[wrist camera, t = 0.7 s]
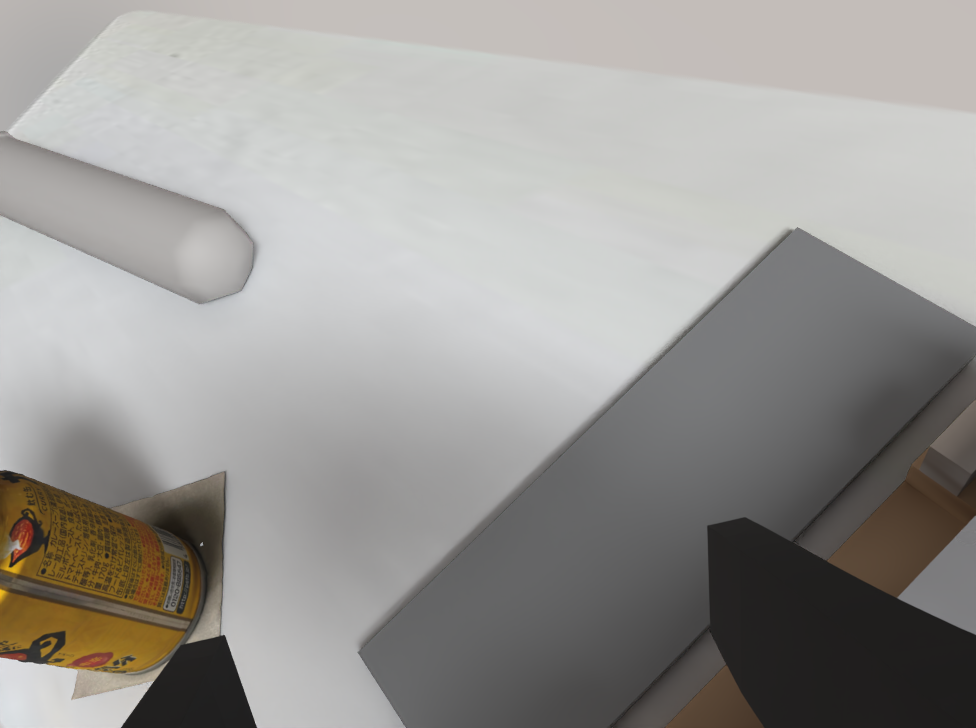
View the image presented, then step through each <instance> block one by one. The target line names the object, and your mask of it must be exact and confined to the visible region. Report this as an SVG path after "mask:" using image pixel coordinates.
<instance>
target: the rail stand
mask: <svg viewBox="0 0 976 728" xmlns="http://www.w3.org/2000/svg"><path fill="white" fill-rule="evenodd" d="M975 516H976V399H975V400H974V401H973V402H972V403H971V404H970V405H969V406H968V407H967V408H966V409H965V410H964V411H963V412H962V413H961V414H960V415H959V416H958V417H957V418H956V419H955V420H954V421H953V422H952V423H951V425H950V426H949V427H948V428H947V429H946V430H945V431H944V432H943V433H942V434H941V435H940V436H939V437H938V438H937V439H936V440H935V441H934V442H933V443H932V444H931V445H930V446H929V447H928V448H927V449H926V450H925V451H924V452H923V453H922V454H921V455H920V456H919V457H918V458H917V459H916V460H915V461H914V463H913V464H912V465H911V467H910V469H909V471H908V474H907V476H906V479H905V481H904V482H903V483H902V484H901V485H900V486H899V487H898V488H897V489H896V490H895V491H894V492H893V493H892V494H891V495H890V496H889V497H888V498H887V499H886V500H885V501H884V502H883V504H882V505H881V506H880V507H879V508H878V509H877V510H876V511H875V512H874V513H873V514H872V515H871V516H870V517H869V518H868V519H867V520H866V521H865V522H864V523H863V524H862V525H861V526H860V527H859V528H858V529H857V530H856V531H855V532H854V533H853V534H852V535H851V536H850V537H849V538H848V540H847V541H846V542H845V543H844V544H843V545H842V546H841V547H840V548H839V549H838V550H837V551H836V552H835V553H834V554H833V555H832V556H831V557H830V558H829V559H828V560H827V562H829V563H831V564H833V565H834V566H836V567H838V568H840V569H842V570H844V571H846V572H847V573H849V574H851V575H853V576H855V577H857V578H859V579H861V580H863V581H864V582H866V583H868V584H870V585H872V586H874V587H876V588H878V589H880V590H882V591H884V592H886V593H888V594H890V595H892V596H894V597H896V598H897V597H898V596H899V595H900V594H901V593H902V592H903V591H904V590H905V589H906V588H907V587H908V586H909V585H910V584H911V583H912V582H913V581H914V580H915V579H916V577H917V576H918V575H919V574H920V573H921V572H922V571H923V570H924V569H925V568H926V567H927V566H928V565H929V564H930V563H931V562H932V561H933V560H934V559H935V558H936V557H937V555H938V554H939V553H940V552H941V551H942V550H943V549H944V548H945V547H946V546H947V545H948V544H949V543H950V542H951V541H952V540H953V539H954V538H955V537H956V536H957V535H958V533H959V532H960V531H961V530H962V529H963V528H964V527H965V526H966V525H967V524H968V523H969V522H970V521H971V520H972V519H973V518H974V517H975ZM665 728H764V727H763V725H762V724H761V722H760V720H759V719H758V717H757V716H756V714H755V713H754V711H753V710H752V708H751V707H750V705H749V704H748V702H747V701H746V699H745V698H744V696H743V695H742V693H741V691H740V689H739V687H738V685H737V684H736V682H735V680H734V678H733V676H732V674H731V672H730V670H729V668H728V666H727V665H725V666H724V667H723V668H722V669H721V670H720V671H719V672H718V673H717V674H716V675H715V676H714V677H713V678H712V679H711V680H710V682H709V683H708V684H707V685H706V686H705V687H704V688H703V689H702V690H701V691H700V692H699V693H698V694H697V695H696V696H695V697H694V698H693V699H692V700H691V701H690V702H689V703H688V704H687V705H686V706H685V707H684V708H683V709H682V710H681V711H680V712H679V713H678V714H677V715H676V716H675V718H674V719H673V720H672V721H671V722H670V723H669V724H668V725H667V726H666V727H665Z"/></svg>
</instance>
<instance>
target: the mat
mask: <svg viewBox="0 0 976 728" xmlns="http://www.w3.org/2000/svg"><path fill="white" fill-rule="evenodd" d="M975 356H976V327H975V326H973V325H971V324H970V323H968V322H966V321H964V320H962V319H961V318H959V317H957V316H955V315H953V314H952V313H950V312H948V311H946V310H945V309H943V308H941V307H939V306H937V305H936V304H934V303H932V302H930V301H928V300H927V299H925V298H923V297H921V296H920V295H918V294H916V293H914V292H912V291H911V290H909V289H907V288H905V287H903V286H902V285H900V284H898V283H896V282H895V281H893V280H891V279H889V278H887V277H886V276H884V275H882V274H880V273H878V272H877V271H875V270H873V269H871V268H870V267H868V266H866V265H864V264H862V263H861V262H859V261H857V260H855V259H853V258H852V257H850V256H848V255H846V254H844V253H843V252H841V251H839V250H837V249H836V248H834V247H832V246H830V245H828V244H827V243H825V242H823V241H821V240H819V239H818V238H816V237H814V236H812V235H811V234H809V233H807V232H805V231H803V230H802V229H800V228H798V227H797V228H796V229H795V230H794V231H793V232H792V233H791V234H790V235H789V236H788V237H787V238H786V239H785V240H784V241H782V242H781V243H780V244H779V245H778V246H777V247H776V248H775V249H774V250H773V251H772V252H771V253H770V254H769V255H768V256H767V257H766V258H765V259H764V260H763V261H762V262H761V263H760V264H759V265H758V266H757V267H756V268H755V269H754V270H753V271H751V272H750V273H749V274H748V275H747V276H746V277H745V278H744V279H743V280H742V281H741V282H740V283H739V284H738V285H737V286H736V287H735V288H734V289H733V290H732V291H731V292H730V293H729V294H728V295H727V296H726V297H725V298H724V299H723V300H722V301H720V302H719V303H718V304H717V305H716V306H715V307H714V308H713V309H712V310H711V311H710V312H709V313H708V314H707V315H706V316H705V317H704V318H703V319H702V320H701V321H700V322H699V323H698V324H697V325H696V326H695V327H694V328H693V329H692V330H690V331H689V332H688V333H687V334H686V335H685V336H684V337H683V338H682V339H681V340H680V341H679V342H678V343H677V344H676V345H675V346H674V347H673V348H672V349H671V350H670V351H669V352H668V353H667V354H666V355H665V356H664V357H663V358H662V359H661V360H659V361H658V362H657V363H656V364H655V365H654V366H653V367H652V368H651V369H650V370H649V371H648V372H647V373H646V374H645V375H644V376H643V377H642V378H641V379H640V380H639V381H638V382H637V383H636V384H635V385H634V386H633V387H632V388H631V389H630V390H628V391H627V392H626V393H625V394H624V395H623V396H622V397H621V398H620V399H619V400H618V401H617V402H616V403H615V404H614V405H613V406H612V407H611V408H610V409H609V410H608V411H607V412H606V413H605V414H604V415H603V416H602V417H601V418H600V419H598V420H597V421H596V422H595V423H594V424H593V425H592V426H591V427H590V428H589V429H588V430H587V431H586V432H585V433H584V434H583V435H582V436H581V437H580V438H579V439H578V440H577V441H576V442H575V443H574V444H573V445H572V446H571V447H570V448H569V449H567V450H566V451H565V452H564V453H563V454H562V455H561V456H560V457H559V458H558V459H557V460H556V461H555V462H554V463H553V464H552V465H551V466H550V467H549V468H548V469H547V470H546V471H545V472H544V473H543V474H542V475H541V476H540V477H539V478H537V479H536V480H535V481H534V482H533V483H532V484H531V485H530V486H529V487H528V488H527V489H526V490H525V491H524V492H523V493H522V494H521V495H520V496H519V497H518V498H517V499H516V500H515V501H514V502H513V503H512V504H511V505H510V506H509V507H508V508H506V509H505V510H504V511H503V512H502V513H501V514H500V515H499V516H498V517H497V518H496V519H495V520H494V521H493V522H492V523H491V524H490V525H489V526H488V527H487V528H486V529H485V530H484V531H483V532H482V533H481V534H480V535H479V536H478V537H477V538H475V539H474V540H473V541H472V542H471V543H470V544H469V545H468V546H467V547H466V548H465V549H464V550H463V551H462V552H461V553H460V554H459V555H458V556H457V557H456V558H455V559H454V560H453V561H452V562H451V563H450V564H449V565H448V566H447V567H445V568H444V569H443V570H442V571H441V572H440V573H439V574H438V575H437V576H436V577H435V578H434V579H433V580H432V581H431V582H430V583H429V584H428V585H427V586H426V587H425V588H424V589H423V590H422V591H421V592H420V593H419V594H418V595H417V596H416V597H414V598H413V599H412V600H411V601H410V602H409V603H408V604H407V605H406V606H405V607H404V608H403V609H402V610H401V611H400V612H399V613H398V614H397V615H396V616H395V617H394V618H393V619H392V620H391V621H390V622H389V623H388V624H387V625H386V626H385V627H383V628H382V629H381V630H380V631H379V632H378V633H377V634H376V635H375V636H374V637H373V638H372V639H371V640H370V641H369V642H368V643H367V644H366V645H365V646H364V647H363V648H362V649H361V650H360V651H359V652H358V654H359V655H360V657H361V658H362V660H363V661H364V663H365V664H366V666H367V668H368V669H369V671H370V672H371V674H372V675H373V677H374V678H375V680H376V682H377V683H378V685H379V686H380V688H381V689H382V691H383V693H384V694H385V696H386V697H387V699H388V700H389V702H390V703H391V705H392V707H393V708H394V710H395V711H396V713H397V714H398V716H399V717H400V719H401V721H402V722H403V724H404V725H405V727H406V728H611V727H612V726H613V725H614V724H615V723H616V722H617V721H618V720H619V719H620V718H621V717H622V715H623V714H624V713H625V712H626V711H627V710H628V709H629V708H630V707H631V706H632V705H633V704H634V703H635V702H636V701H637V700H638V699H639V698H640V697H641V696H642V695H643V694H644V693H645V692H646V691H647V690H648V689H649V688H650V687H651V686H652V685H653V684H654V683H655V682H656V681H657V680H658V679H659V678H660V677H661V676H662V675H663V674H664V673H665V672H666V671H667V670H668V669H669V668H670V667H671V666H672V665H673V663H674V662H675V661H676V660H677V659H678V658H679V657H680V656H681V655H682V654H683V653H684V652H685V651H686V650H687V649H688V648H689V647H690V646H691V645H692V644H693V643H694V642H695V641H696V640H697V639H698V638H699V637H700V636H701V635H702V634H703V633H704V632H705V631H706V630H707V629H708V628H709V627H710V605H709V571H708V537H707V526H708V525H712V524H717V523H721V522H725V521H730V520H734V519H739V518H743V517H746V518H748V519H750V520H752V521H754V522H756V523H758V524H760V525H762V526H764V527H765V528H767V529H769V530H771V531H773V532H775V533H776V534H778V535H780V536H782V537H784V538H785V539H787V540H789V541H791V542H793V541H794V540H795V539H796V538H797V537H798V536H799V535H800V534H801V533H802V532H803V531H804V530H805V529H806V528H807V527H808V526H809V525H810V524H811V523H812V522H813V521H814V520H815V519H816V518H817V517H818V516H819V515H820V514H821V513H822V512H823V511H824V509H825V508H826V507H827V506H828V505H829V504H830V503H831V502H832V501H833V500H834V499H835V498H836V497H837V496H838V495H839V494H840V493H841V492H842V491H843V490H844V489H845V488H846V487H847V486H848V485H849V484H850V483H851V482H852V481H853V480H854V479H855V478H856V477H857V476H858V475H859V474H860V473H861V472H862V471H863V470H864V469H865V468H866V467H867V466H868V465H869V464H870V463H871V462H872V461H873V460H874V459H875V457H876V456H877V455H878V454H879V453H880V452H881V451H882V450H883V449H884V448H885V447H886V446H887V445H888V444H889V443H890V442H891V441H892V440H893V439H894V438H895V437H896V436H897V435H898V434H899V433H900V432H901V431H902V430H903V429H904V428H905V427H906V426H907V425H908V424H909V423H910V422H911V421H912V420H913V419H914V418H915V417H916V416H917V415H918V414H919V413H920V412H921V411H922V410H923V409H924V408H925V407H926V405H927V404H928V403H929V402H930V401H931V400H932V399H933V398H934V397H935V396H936V395H937V394H938V393H939V392H940V391H941V390H942V389H943V388H944V387H945V386H946V385H947V384H948V383H949V382H950V381H951V380H952V379H953V378H954V377H955V376H956V375H957V374H958V373H959V372H960V371H961V370H962V369H963V368H964V367H965V366H966V365H967V364H968V363H969V362H970V361H971V360H972V359H973V358H974V357H975Z"/></svg>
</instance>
